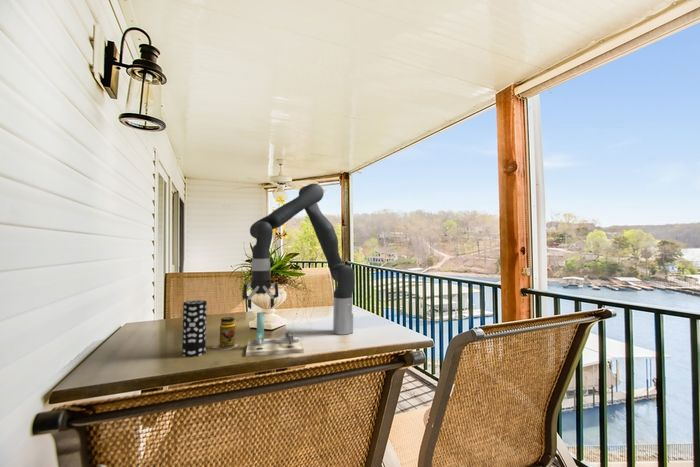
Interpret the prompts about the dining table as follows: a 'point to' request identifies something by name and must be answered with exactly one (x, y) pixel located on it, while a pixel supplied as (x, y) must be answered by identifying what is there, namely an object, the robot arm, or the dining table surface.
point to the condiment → (227, 334)
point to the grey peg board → (275, 346)
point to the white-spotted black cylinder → (194, 328)
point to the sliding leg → (260, 327)
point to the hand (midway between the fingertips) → (260, 308)
